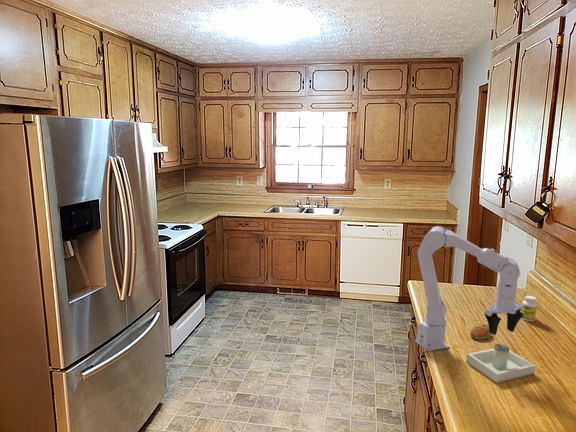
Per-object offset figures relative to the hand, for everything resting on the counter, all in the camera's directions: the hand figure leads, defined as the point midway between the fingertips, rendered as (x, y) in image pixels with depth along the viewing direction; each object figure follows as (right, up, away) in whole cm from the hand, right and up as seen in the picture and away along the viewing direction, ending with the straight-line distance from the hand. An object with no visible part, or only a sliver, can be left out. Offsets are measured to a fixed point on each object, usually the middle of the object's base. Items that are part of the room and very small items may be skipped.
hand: (501, 332), depth 143 cm
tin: (-3, -10, -4) cm, 11 cm away
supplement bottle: (+28, -4, +34) cm, 44 cm away
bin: (-3, -11, -4) cm, 12 cm away
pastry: (+1, -7, +18) cm, 20 cm away
